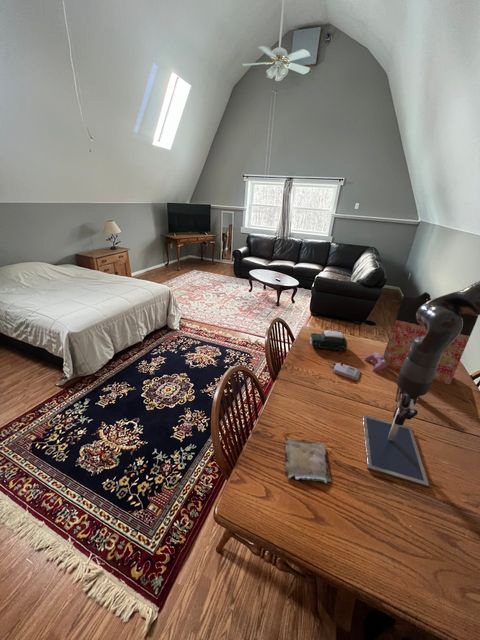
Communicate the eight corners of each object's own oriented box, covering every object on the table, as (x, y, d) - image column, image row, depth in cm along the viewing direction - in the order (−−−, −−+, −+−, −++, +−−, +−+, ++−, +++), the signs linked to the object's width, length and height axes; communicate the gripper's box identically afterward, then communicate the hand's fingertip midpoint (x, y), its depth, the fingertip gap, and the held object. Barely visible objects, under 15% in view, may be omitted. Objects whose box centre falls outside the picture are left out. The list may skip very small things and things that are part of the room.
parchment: (284, 478, 71) (285, 476, 71) (284, 438, 83) (284, 436, 82) (332, 486, 70) (333, 484, 69) (325, 444, 81) (325, 442, 81)
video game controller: (380, 375, 118) (391, 364, 115) (372, 371, 117) (383, 359, 114) (370, 363, 127) (380, 351, 124) (362, 359, 126) (372, 347, 123)
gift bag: (446, 370, 121) (479, 298, 106) (450, 387, 110) (487, 309, 95) (376, 351, 134) (396, 283, 119) (372, 364, 123) (395, 292, 108)
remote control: (362, 382, 110) (363, 376, 109) (324, 369, 117) (325, 363, 116) (364, 374, 115) (366, 368, 114) (328, 362, 123) (329, 357, 121)
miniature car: (308, 340, 141) (311, 326, 138) (344, 344, 139) (347, 330, 135) (309, 348, 133) (312, 334, 130) (347, 353, 131) (351, 339, 127)
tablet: (410, 429, 89) (411, 427, 88) (428, 488, 71) (429, 485, 70) (362, 416, 93) (362, 414, 92) (367, 469, 75) (368, 467, 74)
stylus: (393, 438, 84) (405, 406, 78) (394, 442, 82) (406, 410, 77) (386, 436, 84) (398, 404, 79) (387, 440, 83) (399, 408, 77)
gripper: (440, 393, 66) (417, 443, 73) (425, 363, 78) (406, 409, 85) (406, 385, 68) (387, 434, 75) (396, 357, 80) (380, 402, 87)
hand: (397, 420), depth 80 cm, fingers closed on stylus, 1 cm apart
